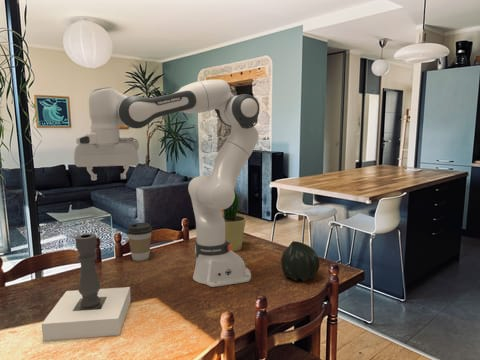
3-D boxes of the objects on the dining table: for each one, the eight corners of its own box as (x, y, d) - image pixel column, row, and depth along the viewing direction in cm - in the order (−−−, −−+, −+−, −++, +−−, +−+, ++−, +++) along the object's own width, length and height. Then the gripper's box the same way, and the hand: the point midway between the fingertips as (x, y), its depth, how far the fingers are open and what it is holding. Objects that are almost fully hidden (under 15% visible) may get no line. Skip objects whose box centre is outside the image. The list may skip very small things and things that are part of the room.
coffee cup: (130, 254, 165) (129, 222, 163) (155, 253, 166) (154, 221, 164) (124, 263, 154) (123, 229, 151) (151, 262, 155) (150, 228, 152)
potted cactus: (250, 244, 178) (250, 185, 173) (239, 254, 163) (239, 190, 159) (221, 241, 183) (221, 183, 179) (208, 250, 169) (207, 188, 164)
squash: (333, 265, 137) (311, 231, 142) (310, 278, 126) (287, 241, 131) (309, 280, 146) (289, 248, 151) (286, 293, 135) (266, 258, 140)
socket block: (130, 301, 120) (130, 287, 119) (119, 335, 100) (118, 318, 99) (67, 305, 117) (66, 290, 116) (43, 341, 97) (41, 323, 97)
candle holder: (94, 322, 105) (89, 239, 101) (75, 320, 106) (69, 238, 102) (106, 312, 111) (101, 233, 107) (88, 310, 112) (82, 232, 108)
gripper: (139, 137, 123) (141, 176, 125) (76, 138, 120) (80, 179, 122) (136, 137, 117) (139, 179, 119) (70, 139, 114) (74, 182, 116)
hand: (108, 179), depth 121 cm, fingers open, 8 cm apart
